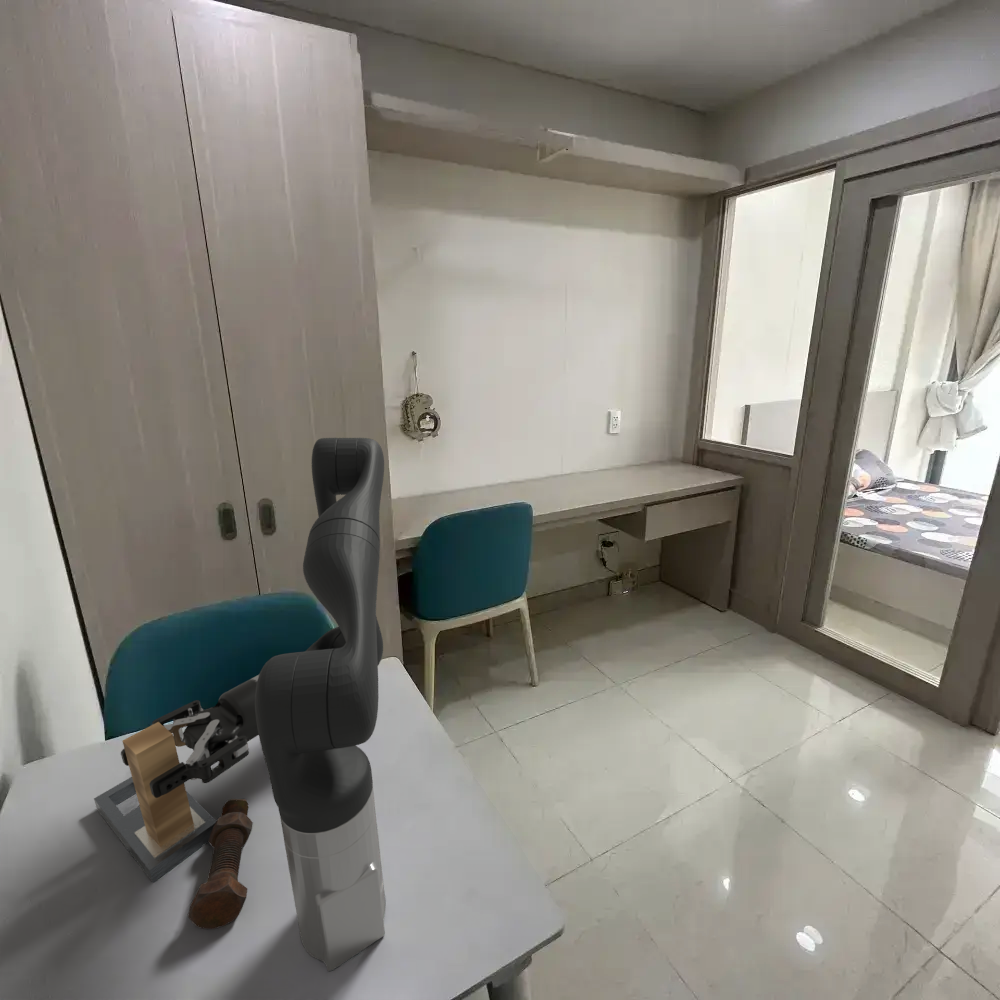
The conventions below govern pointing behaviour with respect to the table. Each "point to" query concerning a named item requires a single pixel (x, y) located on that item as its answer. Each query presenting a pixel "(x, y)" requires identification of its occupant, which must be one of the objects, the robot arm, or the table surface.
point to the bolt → (223, 869)
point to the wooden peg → (147, 761)
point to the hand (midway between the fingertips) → (137, 774)
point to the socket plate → (139, 839)
